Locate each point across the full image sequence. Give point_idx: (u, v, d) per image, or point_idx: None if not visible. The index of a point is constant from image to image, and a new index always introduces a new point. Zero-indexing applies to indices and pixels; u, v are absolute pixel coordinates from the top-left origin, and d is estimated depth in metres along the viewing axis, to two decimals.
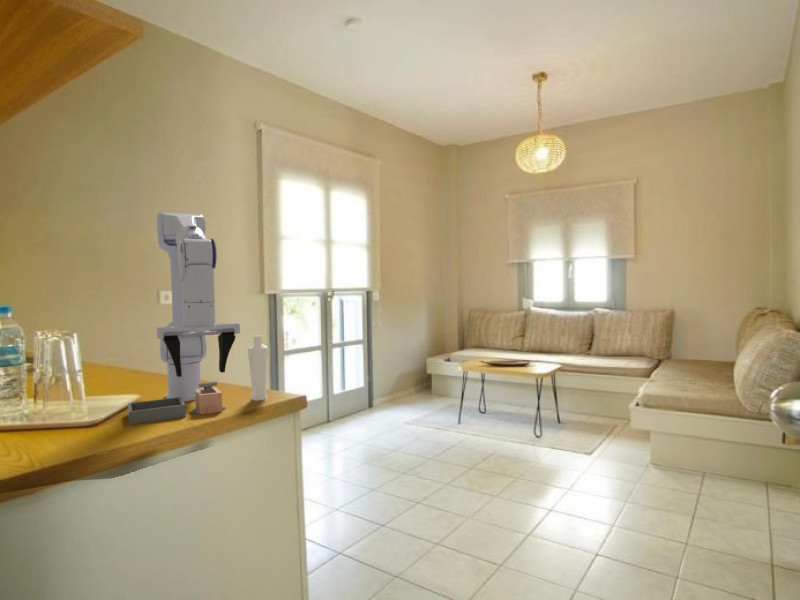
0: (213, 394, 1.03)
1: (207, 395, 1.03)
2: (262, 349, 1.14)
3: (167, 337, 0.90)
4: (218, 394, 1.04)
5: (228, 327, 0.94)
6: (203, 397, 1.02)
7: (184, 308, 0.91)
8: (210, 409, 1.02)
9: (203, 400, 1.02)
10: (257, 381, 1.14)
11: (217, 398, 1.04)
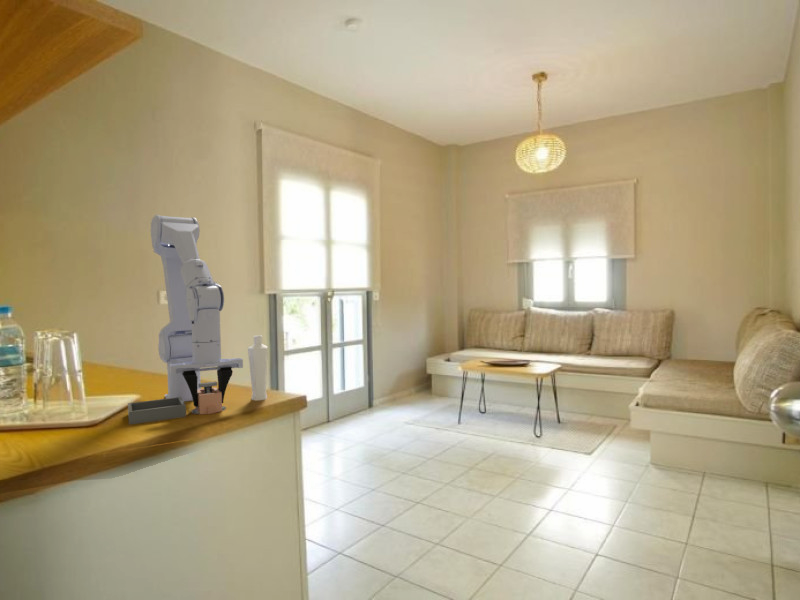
0: (213, 394, 1.03)
1: (207, 395, 1.03)
2: (262, 349, 1.14)
3: (179, 373, 1.02)
4: (218, 394, 1.04)
5: (232, 362, 1.07)
6: (203, 397, 1.02)
7: (194, 347, 1.03)
8: (210, 409, 1.02)
9: (203, 400, 1.02)
10: (257, 381, 1.14)
11: (217, 398, 1.04)
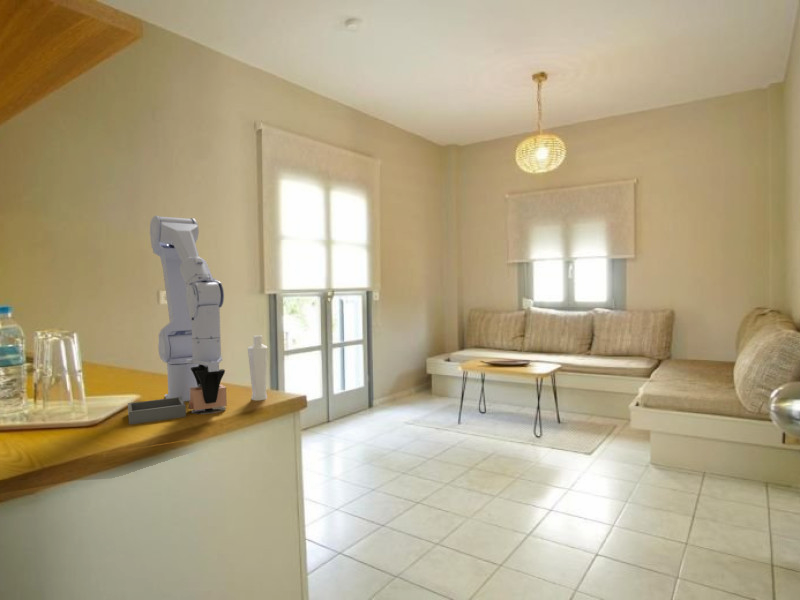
0: (192, 390, 1.04)
1: (191, 390, 1.05)
2: (261, 349, 1.14)
3: None
4: (192, 392, 1.03)
5: (204, 364, 1.01)
6: (190, 391, 1.05)
7: None
8: (188, 404, 1.04)
9: (191, 394, 1.05)
10: (257, 381, 1.14)
11: (192, 396, 1.03)
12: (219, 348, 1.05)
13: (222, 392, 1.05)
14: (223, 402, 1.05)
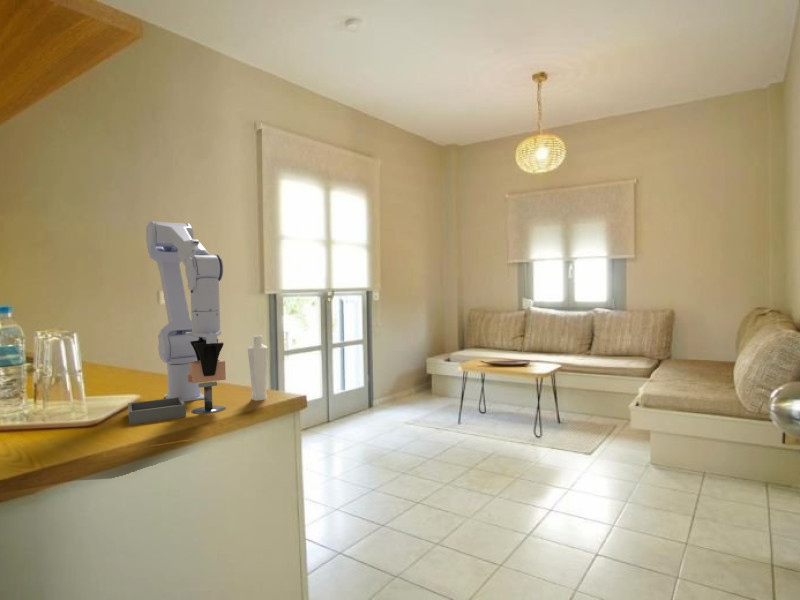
0: (191, 364, 1.04)
1: (190, 363, 1.05)
2: (261, 349, 1.14)
3: (198, 337, 1.10)
4: (191, 365, 1.03)
5: (202, 336, 1.00)
6: (189, 364, 1.05)
7: None
8: None
9: (190, 367, 1.05)
10: (257, 381, 1.14)
11: (191, 369, 1.03)
12: (218, 321, 1.05)
13: (221, 366, 1.05)
14: (222, 376, 1.05)
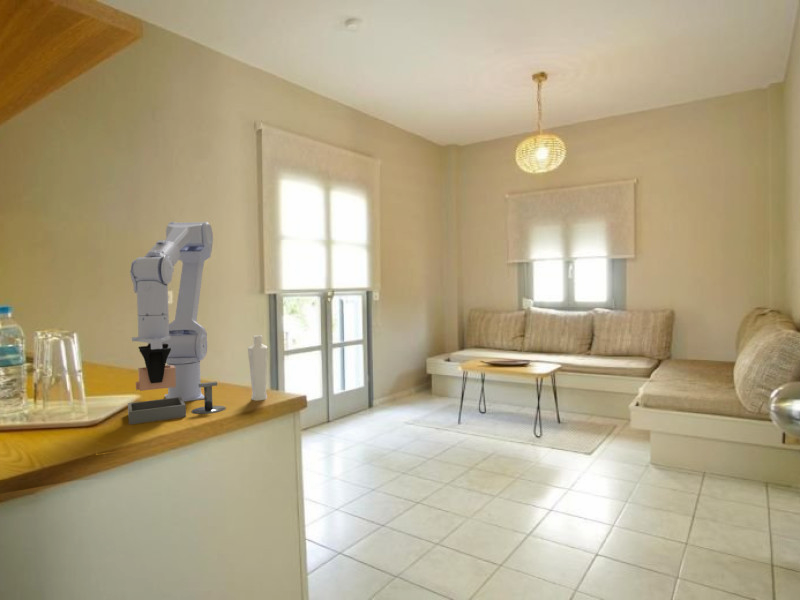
0: (139, 370, 1.00)
1: (138, 370, 1.01)
2: (262, 349, 1.14)
3: None
4: (139, 372, 0.99)
5: (147, 341, 0.96)
6: (138, 371, 1.01)
7: None
8: None
9: None
10: (257, 381, 1.14)
11: (139, 375, 0.99)
12: (166, 326, 1.01)
13: (171, 372, 1.01)
14: (172, 383, 1.01)
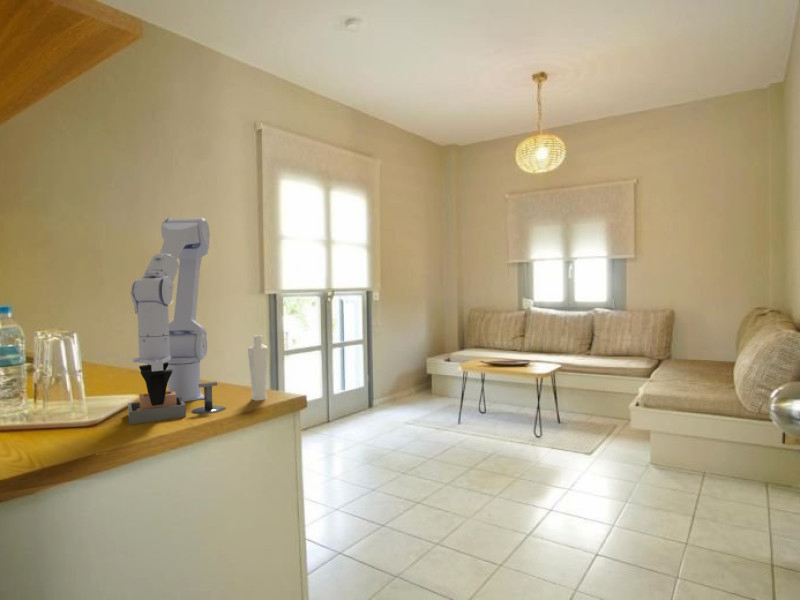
0: (140, 397, 1.00)
1: (139, 396, 1.01)
2: (262, 349, 1.14)
3: None
4: (140, 399, 0.99)
5: (148, 363, 0.96)
6: (139, 397, 1.01)
7: None
8: None
9: (140, 400, 1.01)
10: (257, 381, 1.14)
11: (140, 403, 0.99)
12: (167, 346, 1.01)
13: (172, 399, 1.01)
14: None
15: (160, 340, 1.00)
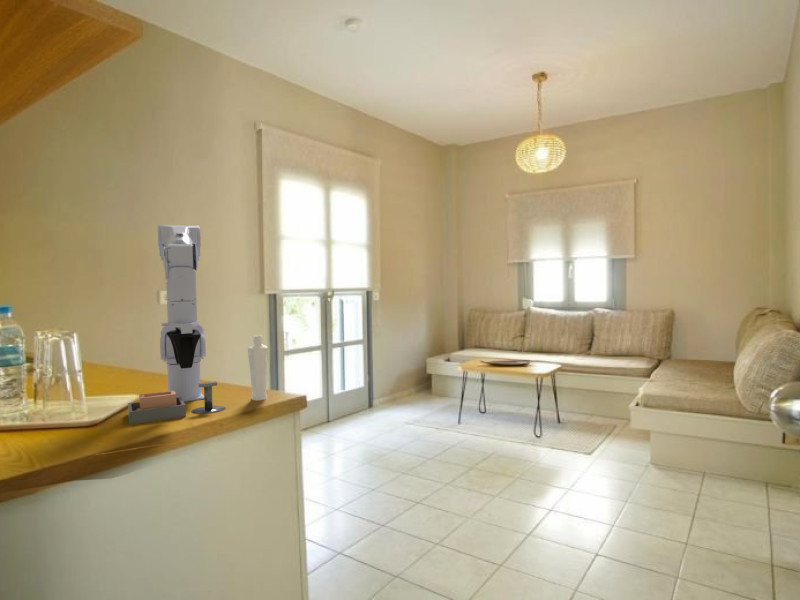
0: (140, 397, 1.00)
1: (139, 396, 1.01)
2: (262, 349, 1.14)
3: (176, 328, 1.08)
4: (140, 399, 0.99)
5: (178, 326, 0.98)
6: (139, 397, 1.01)
7: None
8: None
9: (140, 400, 1.01)
10: (257, 381, 1.14)
11: (140, 403, 0.99)
12: (195, 312, 1.03)
13: (172, 399, 1.01)
14: None
15: (188, 305, 1.01)
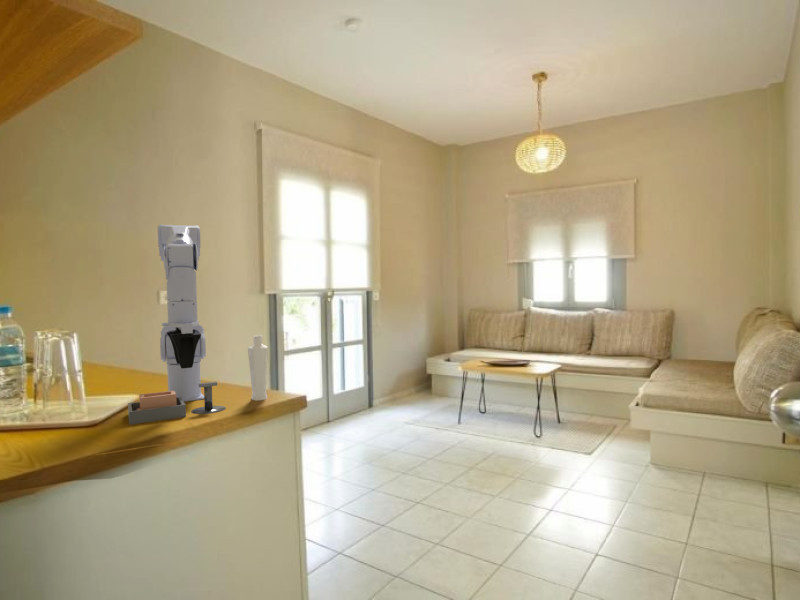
0: (140, 397, 1.00)
1: (139, 396, 1.01)
2: (262, 349, 1.14)
3: (176, 328, 1.08)
4: (140, 399, 0.99)
5: (178, 326, 0.98)
6: (139, 397, 1.01)
7: None
8: None
9: (140, 400, 1.01)
10: (257, 381, 1.14)
11: (140, 403, 0.99)
12: (195, 312, 1.03)
13: (172, 399, 1.01)
14: None
15: (189, 305, 1.01)
